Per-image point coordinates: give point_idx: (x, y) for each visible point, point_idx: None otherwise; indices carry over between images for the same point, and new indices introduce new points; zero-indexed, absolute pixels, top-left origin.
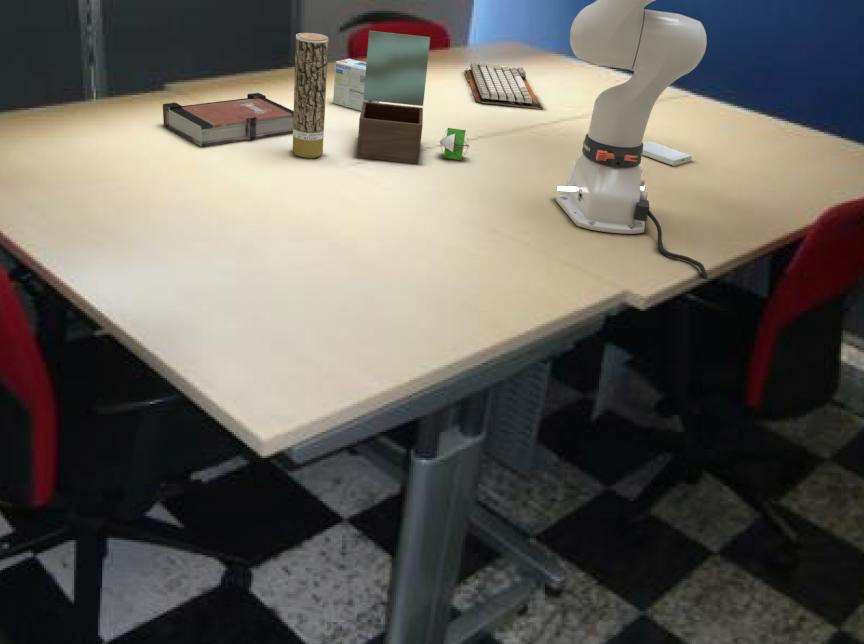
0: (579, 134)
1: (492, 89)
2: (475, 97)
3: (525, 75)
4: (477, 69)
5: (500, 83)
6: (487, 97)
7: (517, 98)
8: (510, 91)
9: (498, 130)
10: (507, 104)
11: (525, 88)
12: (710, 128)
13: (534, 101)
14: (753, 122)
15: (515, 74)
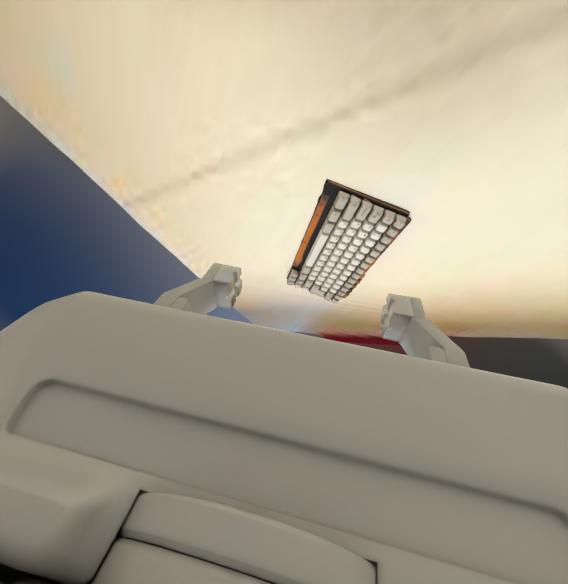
0: (337, 22)
1: (377, 233)
2: (401, 230)
3: (292, 270)
4: (344, 288)
5: (339, 256)
6: (400, 216)
7: (359, 202)
8: (352, 226)
9: (514, 61)
10: (374, 199)
11: (324, 231)
12: (86, 63)
13: (322, 207)
14: (33, 94)
15: (307, 271)
